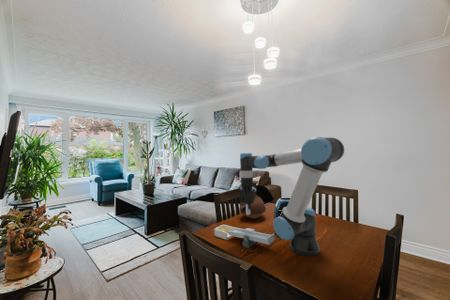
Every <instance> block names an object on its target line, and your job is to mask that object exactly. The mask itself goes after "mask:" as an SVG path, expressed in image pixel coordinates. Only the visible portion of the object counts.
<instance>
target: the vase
mask: <svg viewBox="0 0 450 300" xmlns="http://www.w3.org/2000/svg"><path fill="white" fill-rule="evenodd" d="M258 183H259V181H258V180H253V187H254V188H255V189H257V184H258ZM251 194H252V190H251ZM239 210H240V211H239V212H240V213H241V214H242V215H243V216H245V217H247V218H249V219H252V220H256V219H257V218H260V217H261V216H263V214H264V213H265V212H266V211H267V208H266V205H265V202H264V201H263V198H261V197H260V196H258V195H257V191H256V192H255V198H254V203H252V204H251V209H250V214H249V215H246V209H245V204H244V203H243V202H242V201H241V202H240V207H239Z"/></svg>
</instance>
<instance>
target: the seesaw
mask: <svg viewBox="0 0 450 300" xmlns="http://www.w3.org/2000/svg"><path fill="white" fill-rule="evenodd" d="M234 228H235V230H234V231H228V232H229V235H231V236H233V237H237V238H241V239H244V236H248V237H249V240H252V241H256V242H257V243H261V244H264V245H270V244H272V243H273V242H274V241H275V239H276V238H275V236H276V235H275V233H271V234H268V233H263V232H259V231H256V230H255V229H254V228H249V227H247V228H239V227H234ZM255 231H256V232H255Z"/></svg>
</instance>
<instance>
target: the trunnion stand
mask: <svg viewBox="0 0 450 300" xmlns="http://www.w3.org/2000/svg"><path fill="white" fill-rule="evenodd" d="M255 232H257V231H256V230H255ZM257 243H258V242H256V241H252V240H249V237H248V236H244V238H243V241H242V247H243V248H245V249H250V248H251V247H253V246H254V245H256V244H257Z"/></svg>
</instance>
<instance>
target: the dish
mask: <svg viewBox="0 0 450 300" xmlns="http://www.w3.org/2000/svg"><path fill="white" fill-rule="evenodd" d="M221 229H225V230H226V232H224V231H221ZM234 230H235V227H234V226H231V225H227V224H222V225H221V224H220V225H219V226H217V227H215V228H213V235H214V237H217V238H219V239H223V240H226V241H227V240H230V239H231V238H233V237H234V236H231V235H229V232H228V231H234Z"/></svg>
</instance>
